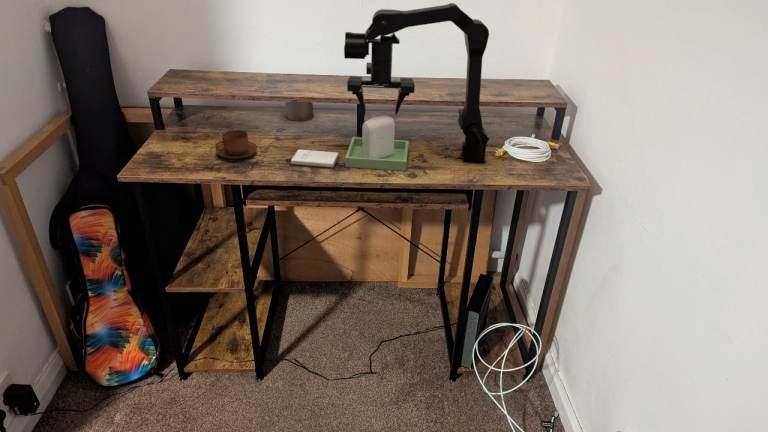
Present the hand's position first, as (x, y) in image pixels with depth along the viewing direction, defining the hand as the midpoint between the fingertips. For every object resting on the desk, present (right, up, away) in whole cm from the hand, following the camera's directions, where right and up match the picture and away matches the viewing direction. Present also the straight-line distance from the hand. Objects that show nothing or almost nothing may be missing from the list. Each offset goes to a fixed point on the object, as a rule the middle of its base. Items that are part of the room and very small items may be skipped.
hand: (380, 113), depth 149 cm
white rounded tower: (-1, -12, +6) cm, 13 cm away
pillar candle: (-29, +6, +34) cm, 45 cm away
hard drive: (-19, -13, +3) cm, 24 cm away
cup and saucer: (-43, -11, +5) cm, 45 cm away
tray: (-1, -12, +6) cm, 13 cm away
